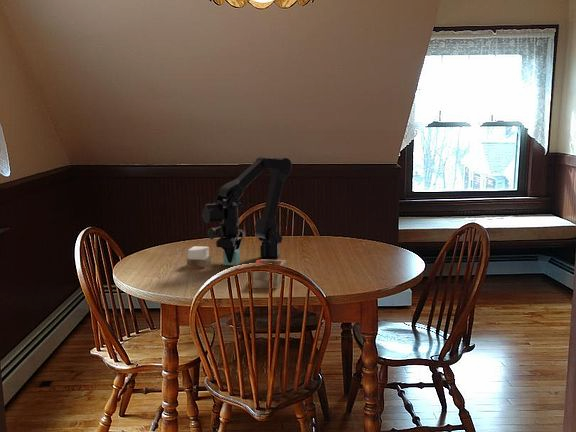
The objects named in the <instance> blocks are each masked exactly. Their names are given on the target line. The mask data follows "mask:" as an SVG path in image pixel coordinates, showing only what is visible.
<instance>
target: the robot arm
mask: <svg viewBox="0 0 576 432" xmlns="http://www.w3.org/2000/svg"><path fill="white" fill-rule="evenodd" d="M292 166H293V163H292V162H291V160H290V158H287V157H277V156H276V157H275V156H274V158H269V157H267V156H266V157H265V156H258V157H257V158H256V160H255V161H254V162H253V163H252V164H251V165H249V167H247V168H246V169H245V170H244V171H243V172H242V173H241V174H239V176H237V178H235V179H233V180H231V181H228V182H227V183H225V184H224V185H222V186H221V187H220V188H219V189H218V190H219V192H218V194H217V197H216V198H215V199H214V201H213V203H205V204H204V207H203V209H202V212H201V217H202V219H203V222H204V223H205V224H210V223H211V224H212V223H216V222H217V223H219V222H221V223H220V225H219V226H217V227H211V228H209V229H208V230H207V234H206V236H207V237H208V238H209V239H210V240H214V239H215V238H218V237H219V239H217V240H216V242H215V247H216V248H221V249H222V250H223V252H224V251H225V254H226V257H227V260H228V262H229V263H231V262H232V259H233V256H234V252H235V249H240V247H241V244H242V243H243V239H244V238H246V231H245V230H243V229H239V225H240V223H241V222H240V221H239V208H242V207H244V205H243V203H241V202H240V201H239V199H240V198H241V197H242V196H243V195H244V192H245V189H246V188H247V187H248V186H249V184H251V183H252V182H253V181H254V180H256V178H257V177H258V176H260V175H261V174H262V173H263V172H264V171H265V170H266V169H269V175H270V183H269V188H268V191H267V197H266V200H265V205H264V209H263V213H262V216H261V217H260V218H258V217H257V218H256V220H255V225H254V228H253V229H254V234H255V235H256V237H257V239H258V241H259V242H261V244H260V246H259V247H260V249H259V250H260V251H259V252H260V259H265V260H278V259H279V257H280V256H281V254H280V248H279V247H280V244H281V243H282V240H283V236H282V235H280V234H279V233H278V224H277V219H276V217H277V213H278V212H277V211H278V208H279V205H280V199H281V196H282V195H281V194H282V190H283V186H284V182H285V180H286V179H287V178H288V177H289V175H290V172H291V170H292V168H293V167H292ZM240 237H241V238H240Z"/></svg>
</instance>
